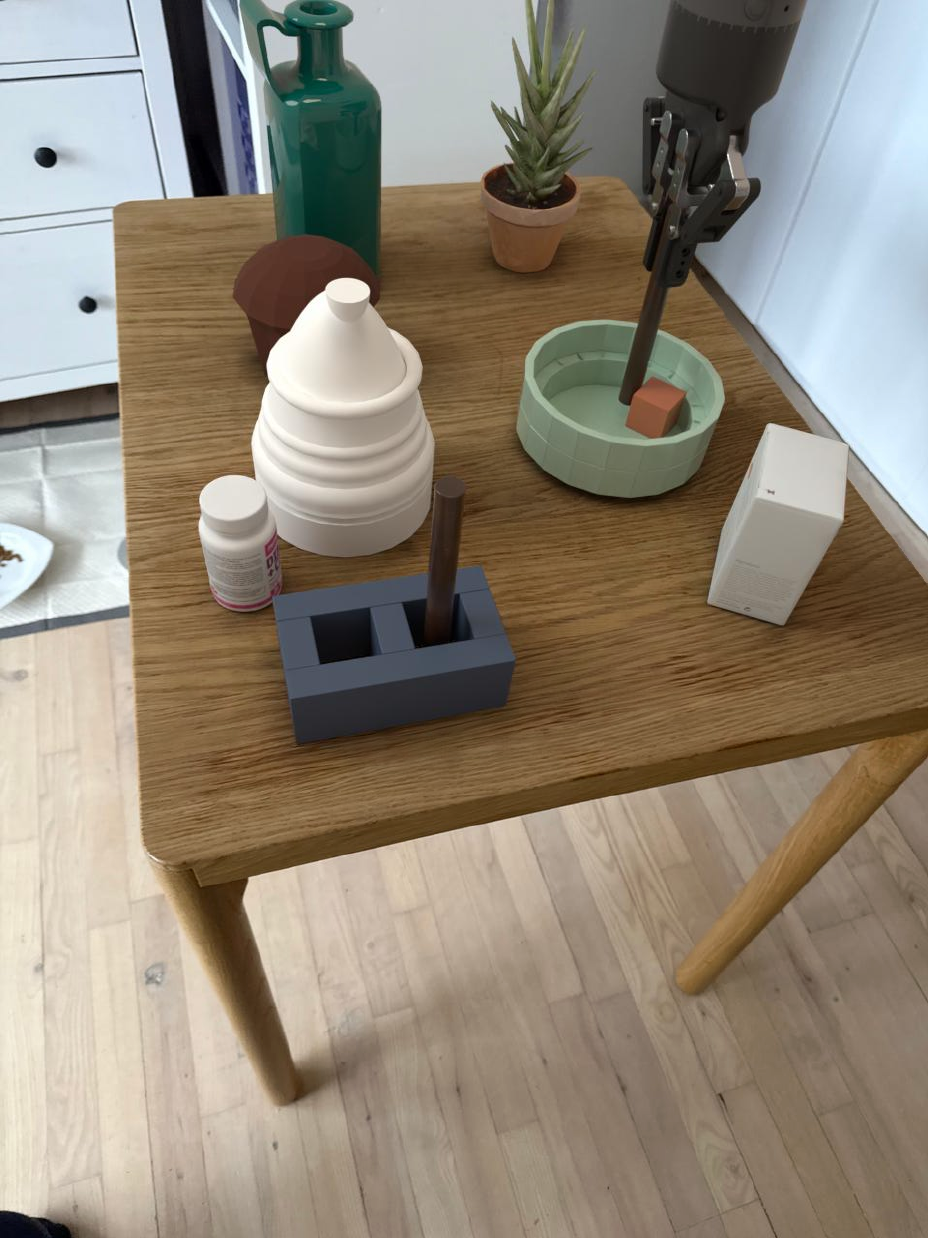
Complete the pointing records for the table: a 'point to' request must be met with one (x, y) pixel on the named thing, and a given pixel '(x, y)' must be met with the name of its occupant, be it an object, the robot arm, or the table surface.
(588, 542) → the table surface
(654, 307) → the brown rod
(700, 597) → the table surface
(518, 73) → the potted plant
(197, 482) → the table surface
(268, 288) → the muffin
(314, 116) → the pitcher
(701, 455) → the bowl
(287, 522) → the honey pot
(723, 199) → the robot arm
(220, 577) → the pill bottle
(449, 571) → the brown wooden peg
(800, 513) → the small box
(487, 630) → the stand
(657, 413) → the block
